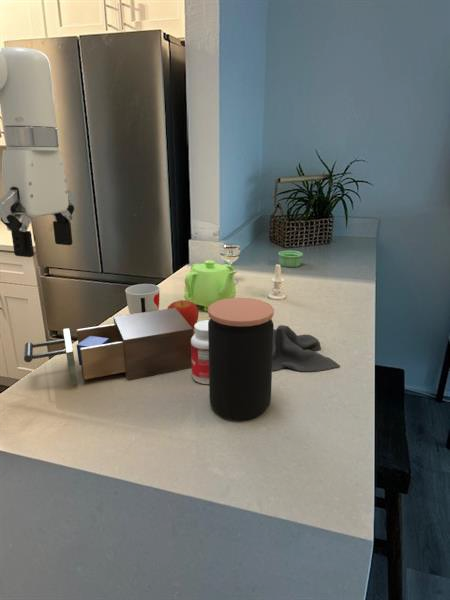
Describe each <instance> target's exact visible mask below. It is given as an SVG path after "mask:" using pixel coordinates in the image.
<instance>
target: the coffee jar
mask: <svg viewBox="0 0 450 600" xmlns="http://www.w3.org/2000/svg"><path fill="white" fill-rule="evenodd" d="M207 313H208V314H207V315H208V318H210V319H208V320H209V322H208V342H209V384H208V386H209V390H208V391H209V404H210V405H211V407H212V408H213V409H214V411H216V413H217V414H218V415H220V416H221V417H224V418H226V419H229V420H235V421H249V420H252V419H255V418H258V417H259V416H262V415H263V414H264V413H265V411H266V410H267V409H268V408H269V407H270V405H271V402H272V382H273V381H272V379H273V371H272V356H273V329H275V328H274V327H275V325H274V322H273V320H272V319H273V317H274V313H275V309H274V307H273V305H272V304H270V303H269V302H267V301H264V300H262V299H257V298H253V297H234V298H228V299H223V300H219V301H216V302H214V303H212V304H211V305H210V306H209V308H208V311H207Z"/></svg>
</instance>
